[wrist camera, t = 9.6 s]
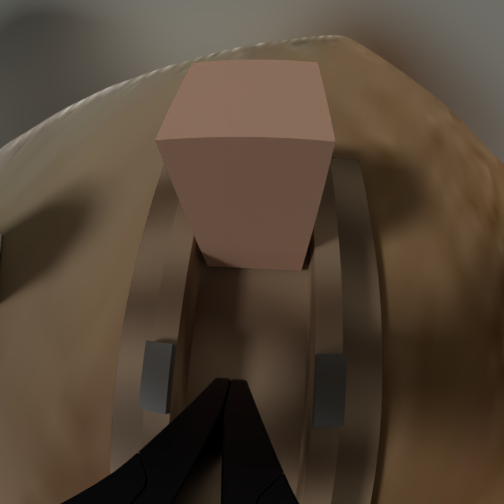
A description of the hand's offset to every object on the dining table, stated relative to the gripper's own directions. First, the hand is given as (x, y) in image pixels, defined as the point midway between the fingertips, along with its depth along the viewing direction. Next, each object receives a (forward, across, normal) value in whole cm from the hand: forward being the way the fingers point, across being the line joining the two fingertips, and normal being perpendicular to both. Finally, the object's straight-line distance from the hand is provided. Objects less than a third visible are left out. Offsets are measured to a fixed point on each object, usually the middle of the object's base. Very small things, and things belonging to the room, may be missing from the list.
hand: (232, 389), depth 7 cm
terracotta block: (+10, 0, -2) cm, 11 cm away
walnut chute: (+7, 0, +3) cm, 8 cm away
